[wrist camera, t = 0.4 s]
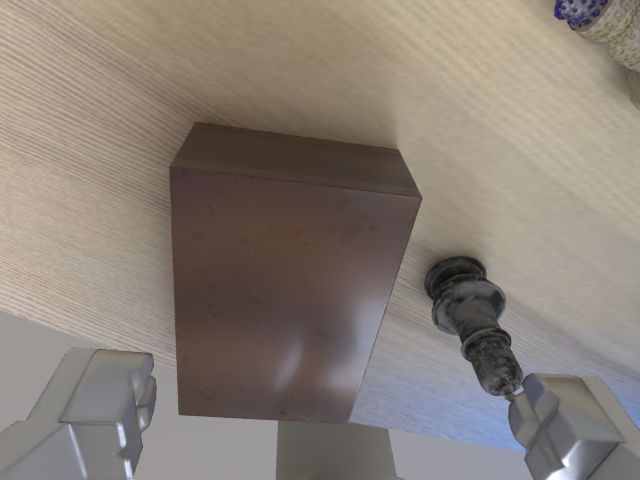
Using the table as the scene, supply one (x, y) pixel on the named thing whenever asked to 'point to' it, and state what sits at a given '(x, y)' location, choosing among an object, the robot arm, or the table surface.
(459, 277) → the salt shaker
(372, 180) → the shelf
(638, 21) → the decorative bottle
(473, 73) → the table surface
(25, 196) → the table surface
